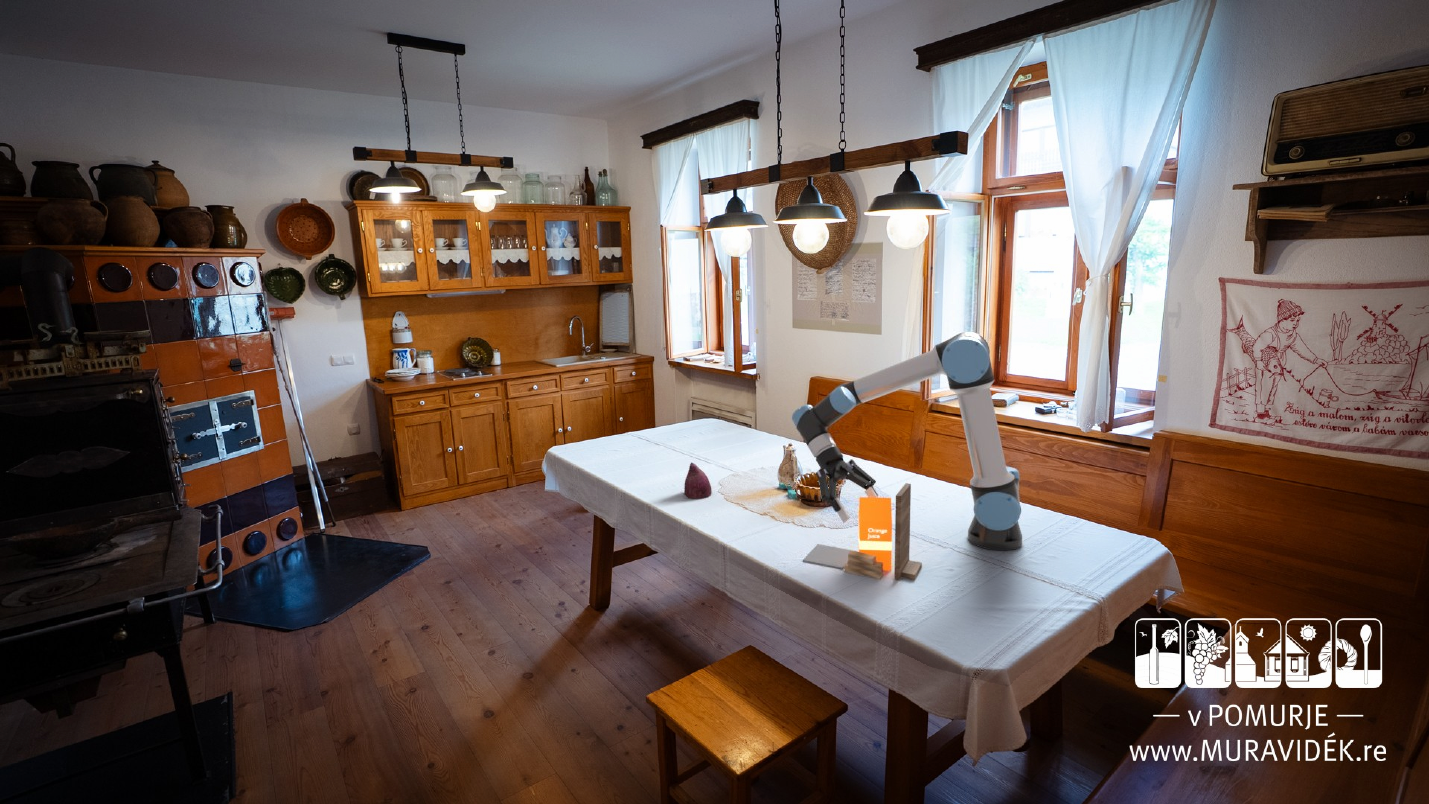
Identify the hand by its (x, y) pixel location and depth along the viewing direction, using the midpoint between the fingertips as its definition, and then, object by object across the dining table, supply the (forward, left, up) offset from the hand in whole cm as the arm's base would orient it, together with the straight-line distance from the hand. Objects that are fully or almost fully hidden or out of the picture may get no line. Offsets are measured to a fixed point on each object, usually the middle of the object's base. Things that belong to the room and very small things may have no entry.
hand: (863, 514), depth 189 cm
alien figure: (+34, -47, -15) cm, 60 cm away
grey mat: (+10, +2, -14) cm, 17 cm away
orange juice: (-3, +1, -14) cm, 15 cm away
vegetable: (+73, -28, -14) cm, 79 cm away
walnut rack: (-7, +4, -14) cm, 16 cm away
